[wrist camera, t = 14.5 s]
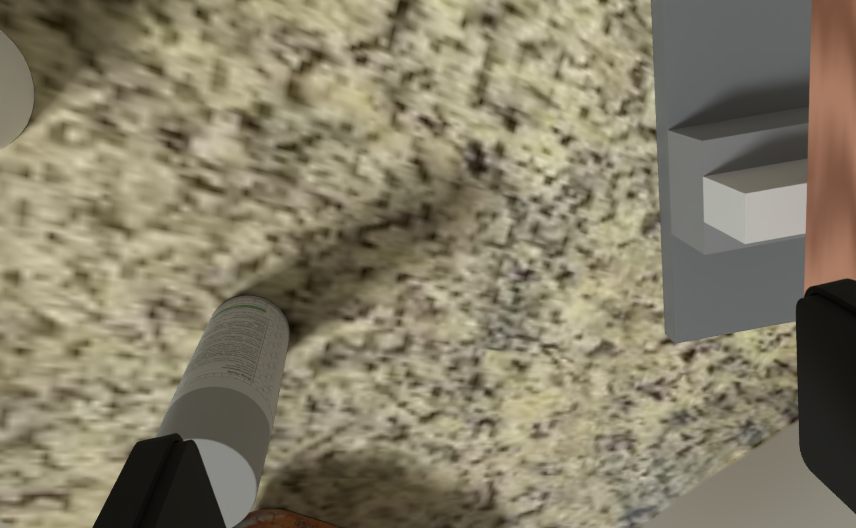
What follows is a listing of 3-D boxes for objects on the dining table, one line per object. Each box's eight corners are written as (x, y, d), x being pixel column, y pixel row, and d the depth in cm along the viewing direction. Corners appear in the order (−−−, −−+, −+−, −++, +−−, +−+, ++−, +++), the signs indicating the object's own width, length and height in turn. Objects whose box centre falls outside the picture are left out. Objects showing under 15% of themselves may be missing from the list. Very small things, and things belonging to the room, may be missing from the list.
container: (288, 370, 43) (259, 539, 28) (207, 367, 42) (137, 539, 28) (291, 296, 41) (261, 437, 27) (207, 293, 41) (132, 434, 26)
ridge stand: (650, -4, 38) (744, -15, 29) (828, -32, 39) (974, -51, 30) (665, 333, 45) (745, 410, 36) (817, 305, 45) (933, 373, 36)
